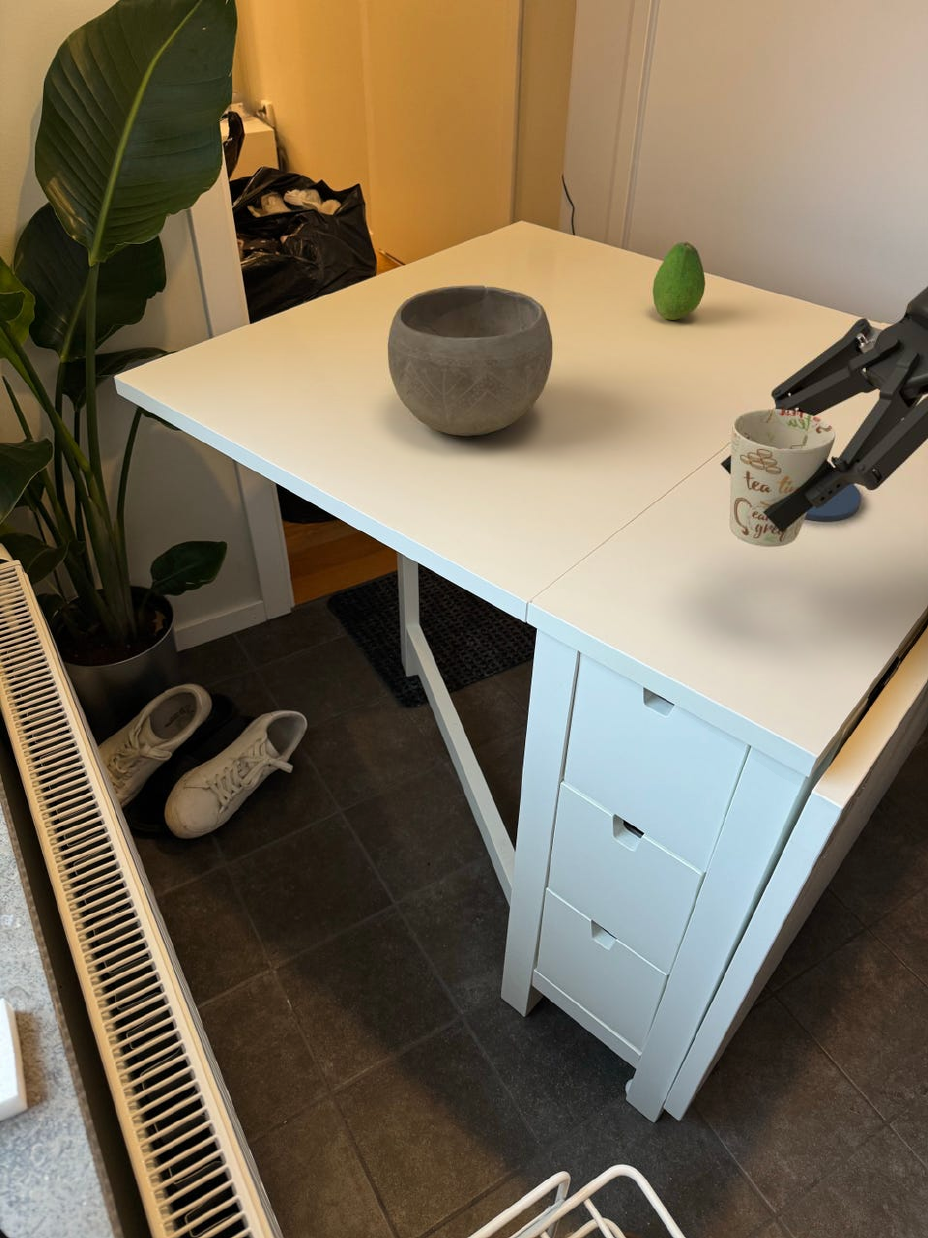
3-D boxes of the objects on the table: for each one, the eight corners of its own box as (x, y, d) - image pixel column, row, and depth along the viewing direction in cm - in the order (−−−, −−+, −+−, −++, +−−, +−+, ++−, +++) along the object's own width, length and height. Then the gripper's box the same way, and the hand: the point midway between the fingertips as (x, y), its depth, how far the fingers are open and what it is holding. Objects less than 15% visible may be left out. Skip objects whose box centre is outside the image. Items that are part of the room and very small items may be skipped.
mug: (698, 530, 82) (713, 428, 76) (772, 484, 88) (791, 388, 83) (779, 565, 77) (802, 459, 71) (851, 513, 83) (878, 413, 78)
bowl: (387, 384, 126) (383, 278, 116) (533, 380, 127) (541, 275, 117) (393, 463, 110) (389, 347, 100) (559, 457, 112) (571, 343, 102)
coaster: (879, 505, 105) (881, 500, 104) (811, 531, 101) (813, 525, 100) (810, 462, 112) (812, 456, 112) (744, 484, 108) (745, 478, 107)
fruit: (699, 311, 147) (713, 236, 139) (697, 330, 141) (712, 253, 134) (650, 305, 149) (662, 231, 141) (646, 324, 143) (658, 248, 135)
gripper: (1082, 387, 67) (829, 585, 75) (917, 288, 82) (720, 461, 89) (1054, 325, 63) (788, 542, 70) (885, 232, 77) (680, 419, 85)
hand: (750, 496), depth 80 cm, fingers closed on mug, 7 cm apart
